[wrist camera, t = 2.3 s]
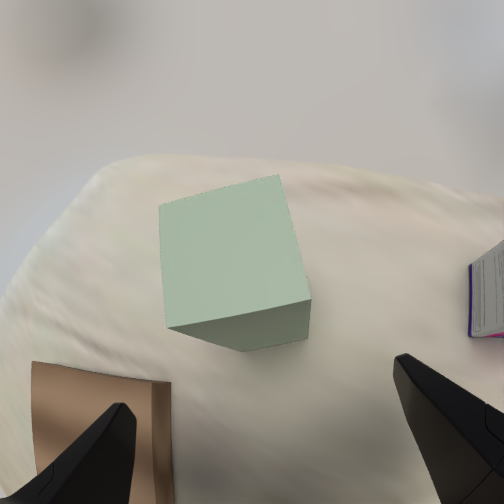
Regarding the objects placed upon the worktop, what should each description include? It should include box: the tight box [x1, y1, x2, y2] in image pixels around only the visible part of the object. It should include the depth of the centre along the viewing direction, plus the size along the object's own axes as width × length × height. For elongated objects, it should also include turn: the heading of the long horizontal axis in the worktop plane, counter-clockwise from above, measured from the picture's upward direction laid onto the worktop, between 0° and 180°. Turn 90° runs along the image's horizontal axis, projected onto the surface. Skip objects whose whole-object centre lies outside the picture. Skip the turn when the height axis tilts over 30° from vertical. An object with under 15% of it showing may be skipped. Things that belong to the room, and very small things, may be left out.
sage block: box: [159, 174, 311, 352], centre depth 15 cm, size 4×4×12 cm
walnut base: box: [31, 361, 174, 504], centre depth 17 cm, size 12×12×3 cm
